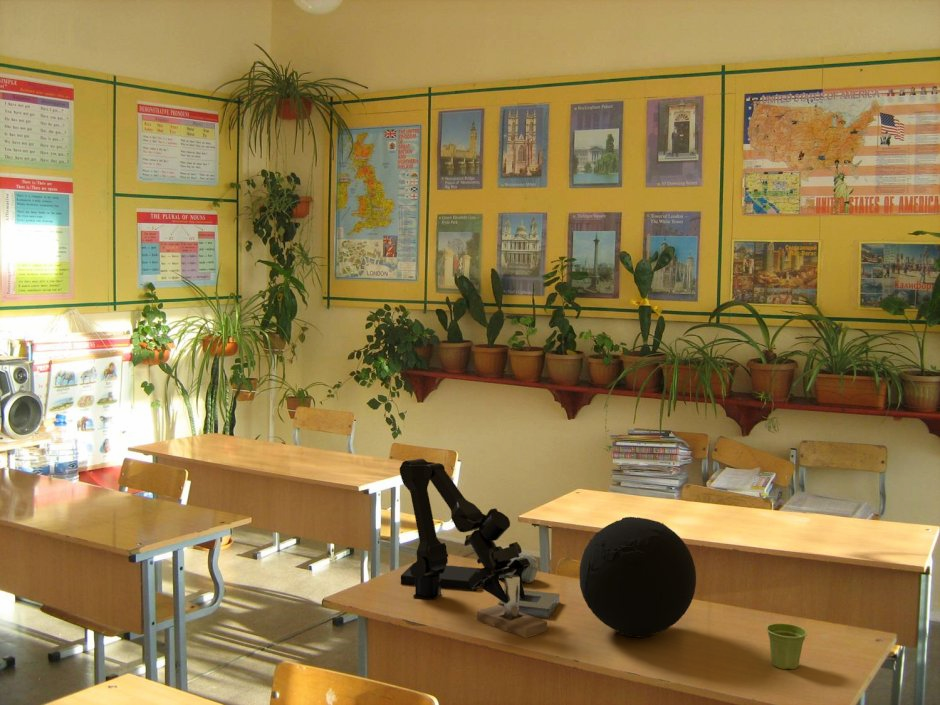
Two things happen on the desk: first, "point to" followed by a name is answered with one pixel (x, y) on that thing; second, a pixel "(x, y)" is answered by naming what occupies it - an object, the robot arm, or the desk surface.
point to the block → (537, 603)
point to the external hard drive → (447, 577)
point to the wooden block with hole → (512, 621)
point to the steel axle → (511, 596)
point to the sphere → (637, 576)
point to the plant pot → (786, 644)
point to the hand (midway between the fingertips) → (515, 600)
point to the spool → (529, 572)
